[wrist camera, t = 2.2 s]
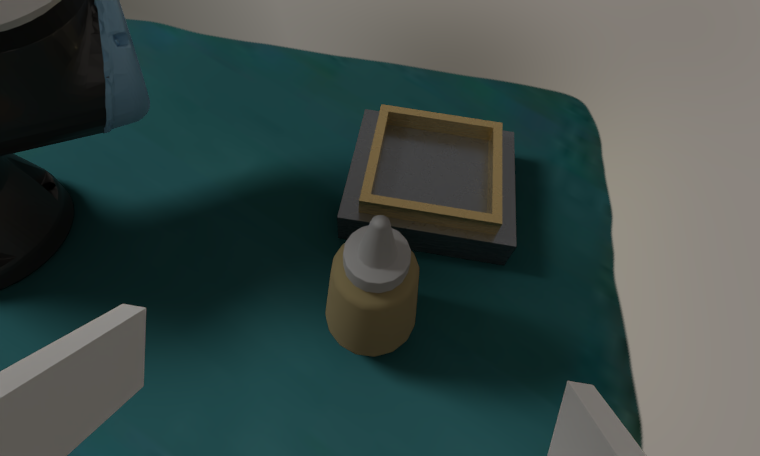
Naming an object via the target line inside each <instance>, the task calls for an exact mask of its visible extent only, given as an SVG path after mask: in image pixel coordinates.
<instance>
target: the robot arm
mask: <svg viewBox="0 0 760 456" xmlns="http://www.w3.org/2000/svg"><path fill="white" fill-rule="evenodd" d="M149 107H150V100H149V96H148V92H147V88H146V85H145V82H144V78H143V75H142V72H141V68H140V65H139V62H138V58H137V55H136V52H135V49H134V45H133V42H132V39H131V36H130V33H129V30H128V27H127V23H126V20H125V17H124V14H123V11H122V8H121V4H120V2H119V0H0V289H2V288H5V287H7V286H9V285H11V284H13V283H15V282H17V281H19V280H21V279H23V278H24V277H26V276H28V275H29V274H31V273H32V272H33V271H35V270H36V269H38V268H39V267H40V266H41V265H43V264H44V263H45V262H46V261H47V260H48V259H49V258H50V257H51V256H52V255H53V254H54V253H55V252H56V251H57V249H58V248H59V247H60V246H61V244H62V243H63V241H64V240H65V238H66V236H67V234H68V232H69V230H70V228H71V225H72V221H73V215H74V207H73V202H72V199H71V196H70V194H69V193H68V191H67V190H66V189H65V188H64V187H63V186H62V185H61V184H60V182H59V181H58V180H57V179H56V178H55V177H54V176H53V175H52V174H50V173H49V172H47V171H46V170H45V169H43V168H41V167H39V166H37V165H35V164H33V163H31V162H29V161H27V160H25V159H23V158H21V157H19V156H17V155H15V154H13V153H16V152H21V151H25V150H29V149H34V148H38V147H42V146H47V145H51V144H56V143H60V142H64V141H69V140H73V139H77V138H82V137H86V136H90V135H95V134H99V133H107V132H110V131H111V129H114V128H117V127H120V126H124V125H127V124H130V123H133V122H137V121H139V120H141V119H142V118H143V117H144V116H145V115H146V114H147V113H148V110H149ZM145 331H146V308H145V307H139V306H133V305H128V304H121V305H120V306H118V307H116V308H114V309H112V310H110V311H109V312H107V313H105V314H103V315H101V316H100V317H98V318H96V319H94V320H92V321H91V322H89V323H87V324H85V325H83V326H82V327H80V328H78V329H76V330H74V331H73V332H71V333H69V334H67V335H65V336H64V337H62V338H60V339H58V340H56V341H55V342H53V343H51V344H49V345H47V346H46V347H44V348H42V349H40V350H38V351H37V352H35V353H33V354H31V355H29V356H28V357H26V358H24V359H22V360H20V361H18V362H17V363H15V364H13V365H11V366H9V367H8V368H6V369H4V370H2V371H0V456H67V455H68V454H69V453H70V452H71V451H72V450H74V449H75V448H76V447H77V446H78V445H79V444H80V443H81V442H82V441H83V440H85V439H86V438H87V437H88V436H89V435H90V434H91V433H92V432H93V431H95V430H96V429H97V428H98V427H99V426H100V425H101V424H102V423H103V422H104V421H106V420H107V419H108V418H109V417H110V416H111V415H112V414H113V413H114V412H115V411H117V410H118V409H119V408H120V407H121V406H122V405H123V404H124V403H125V402H127V401H128V400H129V399H130V398H131V397H132V396H133V395H134V394H135V393H136V392H138V391H139V390H140V389H141V388H142V387H143V386H144V360H145ZM547 456H646V454H645V453H644V452H643V450H642V449H641V448H640V446H639V445H638V444H637V442H636V441H635V440H634V438H633V437H632V436H631V434H630V433H629V432H628V430H627V429H626V428H625V427H624V425H623V424H622V423H621V421H620V420H619V419H618V417H617V416H616V415H615V413H614V412H613V411H612V409H611V408H610V407H609V405H608V404H607V403H606V401H605V400H604V399H603V397H602V396H601V395H600V393H599V392H598V391H597V389H596V388H595V387H594V385H590V384H584V383H578V382H573V381H567V384H566V388H565V392H564V396H563V399H562V403H561V407H560V410H559V414H558V418H557V422H556V425H555V429H554V433H553V437H552V440H551V444H550V448H549V452H548V455H547Z"/></svg>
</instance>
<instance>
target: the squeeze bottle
mask: <svg viewBox="0 0 760 456" xmlns="http://www.w3.org/2000/svg"><path fill="white" fill-rule="evenodd" d="M418 282H419V265H418V263H417V260H416V257H415V255H414V253H413V252H412V251H411V249H410V247H409V244H408V241H407V240H406V239H405V238H404V236H403V235H402V234H401V233H400V232H399V231H397V230H395V229H393V228H391V224H390V220H389V219H388V218H387V217H386V216H384V215H376V216H375V217H373V218H372V220H371V222H370V224H369V226H364V227H361V228H360V229H358V230H356V231H355V232H353V233H352V234H351V235H350V237H349V238H348V240H347V241H346V242H345V243H344V244H343V245H342V246H341V247H340V249H339V250H338V252H337V253H336V254H335V256H334V258H333V263H332V268H331V274H330V281H329V289H328V297H327V305H326V313H325V314H326V319H327V323H328V327H329V331H330V332H331V334H332V335H333V336H334V338H335V339H336V340H337V342H338V343H339V344H340V345H341V346H343V347H344V348H346V349H348V350H349V351H351V352H353V353H355V354H358V355H365V356H373V357H375V356H379V355H383V354H386V353H390V352H393V351H394V350H395V349H397V348H398V347H399V346H400V345H402V344H403V343H404V342H405V341H407V339H408V337H409V335H410V333H411V331H412V329H413V328H414V326H415V317H416V305H417V294H418Z"/></svg>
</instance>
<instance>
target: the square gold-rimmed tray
mask: <svg viewBox="0 0 760 456" xmlns="http://www.w3.org/2000/svg"><path fill="white" fill-rule="evenodd" d="M376 215H384V216H386V217H387V218H388V219H389V220H390V224H391V228H393V229H395V230H397V231H399V232H400V233H401V234H402V235H403V236H404V238H405V239H406V240H407V241H408V244H409V247H410V249H411V250H415V251H421V252H427V253H433V254H439V255H445V256H451V257H457V258H463V259H469V260H475V261H481V262H487V263H493V264H499V265H505V263H506V262H507V260H508V259H509V257H510V256H511V254H512V253H513V251H514V250H515V248H516V203H515V157H514V132H509V131H502V123H499V122H493V121H486V120H480V119H473V118H467V117H460V116H454V115H447V114H441V113H434V112H428V111H421V110H415V109H408V108H402V107H395V106H389V105H382V104H381V108H380V111H373V110H367V109H365V112H364V116H363V120H362V124H361V128H360V131H359V135H358V139H357V143H356V147H355V151H354V154H353V158H352V162H351V166H350V170H349V174H348V178H347V181H346V185H345V189H344V193H343V197H342V201H341V204H340V208H339V212H338V216H337V223H338V238H343V239H348V238H349V237H350V235H351V234H352V233H353V232H355V231H356V230H358V229H360V228H361V227H364V226H369V224H370V222H371V220H372V218H373V217H375V216H376Z"/></svg>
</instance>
